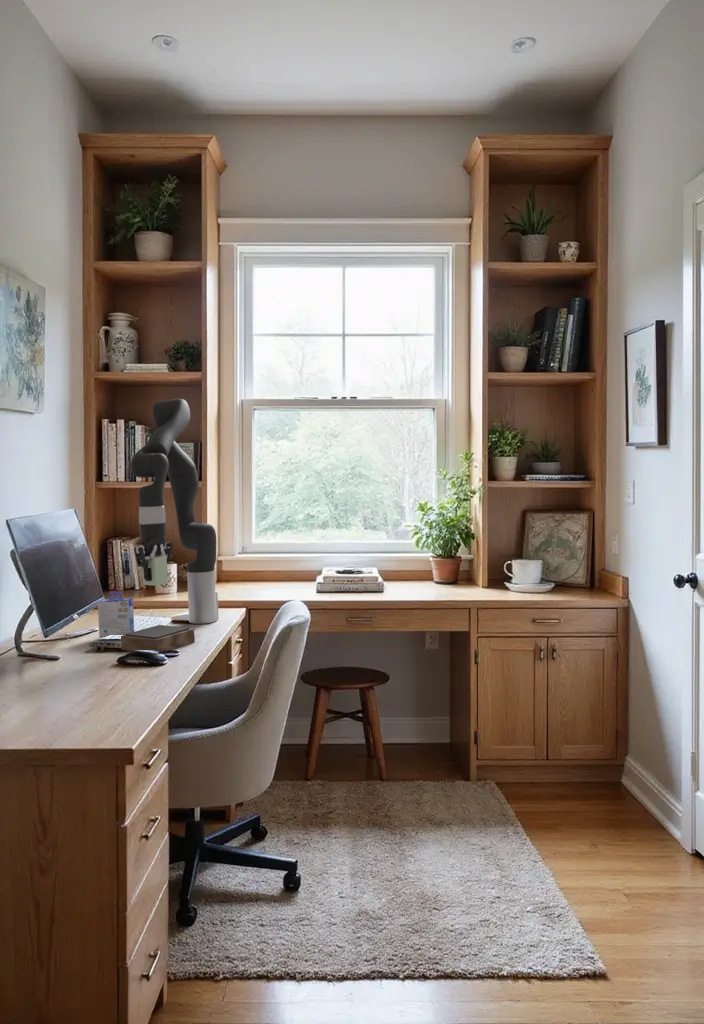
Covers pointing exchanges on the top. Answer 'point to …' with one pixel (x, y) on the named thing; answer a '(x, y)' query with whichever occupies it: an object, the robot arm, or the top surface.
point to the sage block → (157, 571)
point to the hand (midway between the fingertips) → (155, 579)
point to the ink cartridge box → (115, 615)
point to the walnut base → (158, 638)
